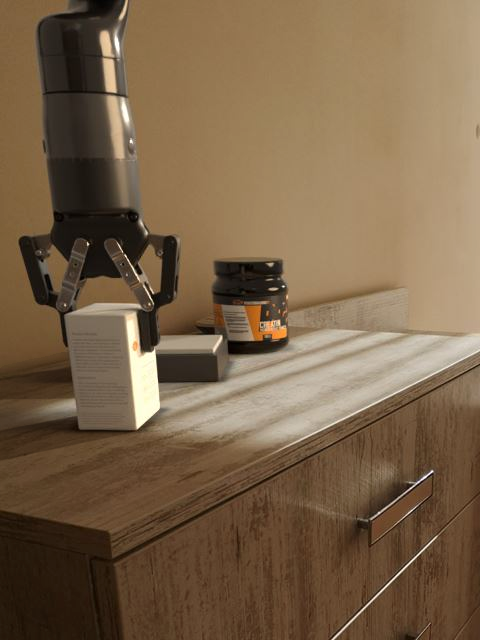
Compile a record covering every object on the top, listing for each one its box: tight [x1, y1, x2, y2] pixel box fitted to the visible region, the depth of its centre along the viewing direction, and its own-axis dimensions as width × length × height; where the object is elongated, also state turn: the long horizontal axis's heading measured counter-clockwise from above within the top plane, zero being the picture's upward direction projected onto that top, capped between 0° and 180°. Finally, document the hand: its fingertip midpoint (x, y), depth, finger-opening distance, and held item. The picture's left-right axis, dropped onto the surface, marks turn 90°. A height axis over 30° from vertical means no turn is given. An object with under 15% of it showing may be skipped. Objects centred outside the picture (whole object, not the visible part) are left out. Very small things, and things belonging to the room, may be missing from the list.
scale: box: [155, 334, 229, 383], centre depth 99 cm, size 15×12×4 cm
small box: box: [64, 302, 161, 431], centre depth 77 cm, size 8×6×10 cm
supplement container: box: [210, 256, 291, 354], centre depth 113 cm, size 10×10×12 cm
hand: (113, 351), depth 76 cm, fingers closed on small box, 6 cm apart
